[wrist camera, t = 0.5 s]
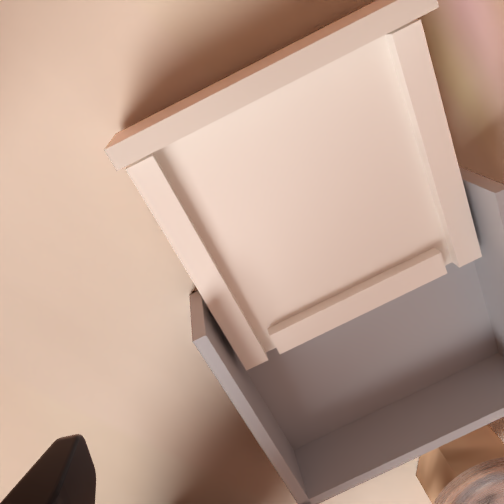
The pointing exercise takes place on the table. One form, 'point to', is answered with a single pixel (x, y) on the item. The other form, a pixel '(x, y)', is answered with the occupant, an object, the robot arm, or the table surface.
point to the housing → (378, 372)
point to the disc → (476, 485)
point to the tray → (309, 181)
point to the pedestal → (457, 459)
